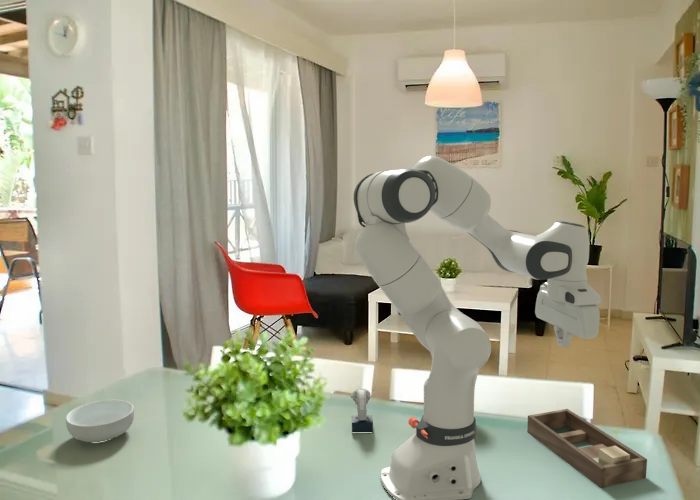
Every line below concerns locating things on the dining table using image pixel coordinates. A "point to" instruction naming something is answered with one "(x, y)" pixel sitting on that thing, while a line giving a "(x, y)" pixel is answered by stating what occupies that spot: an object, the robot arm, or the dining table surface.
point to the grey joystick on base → (361, 412)
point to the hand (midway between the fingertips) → (563, 345)
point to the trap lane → (587, 456)
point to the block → (612, 455)
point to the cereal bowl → (100, 420)
